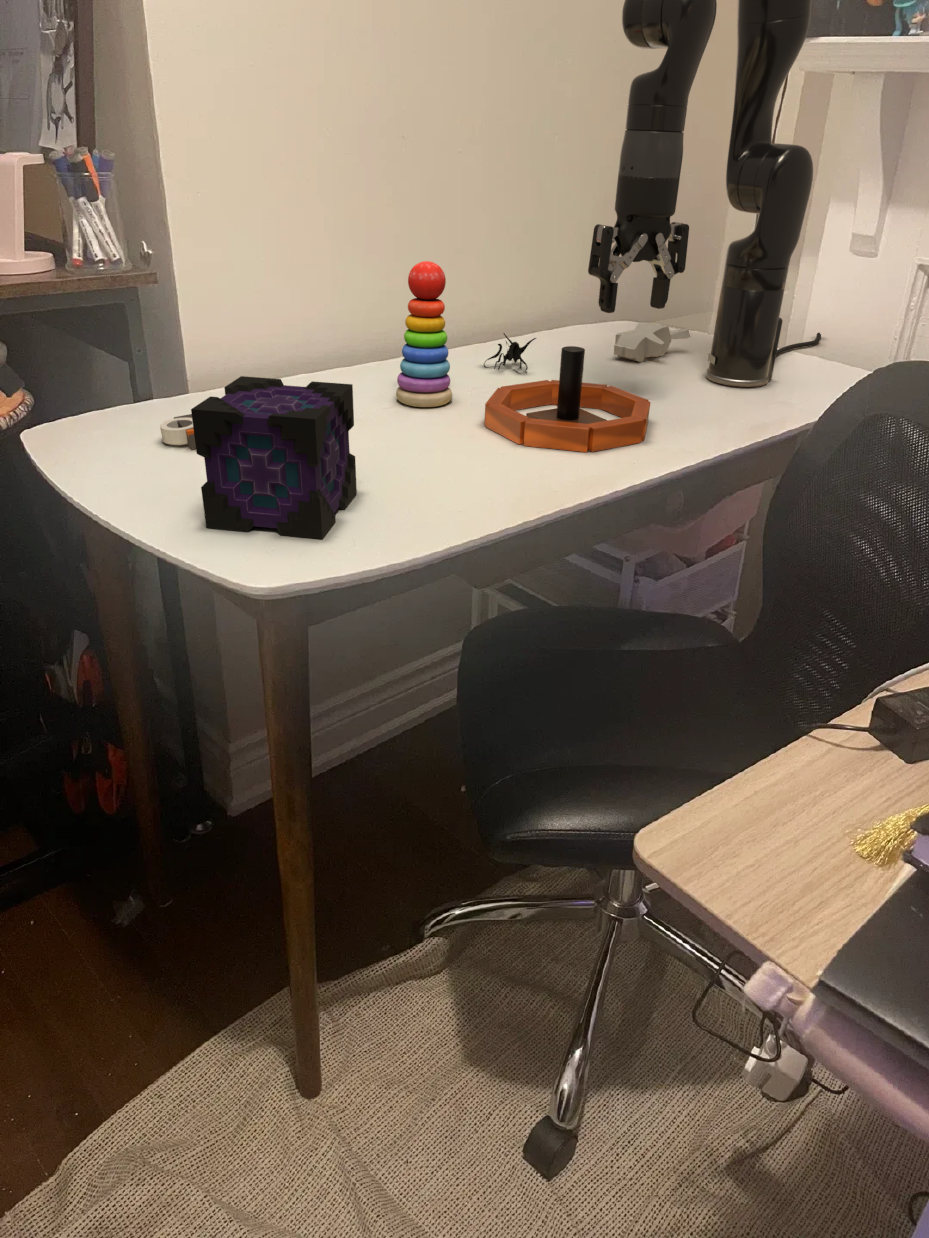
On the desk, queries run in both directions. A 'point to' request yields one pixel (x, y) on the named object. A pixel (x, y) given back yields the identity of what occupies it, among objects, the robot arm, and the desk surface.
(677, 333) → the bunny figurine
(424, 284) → the stacking toy
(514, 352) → the creature
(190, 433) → the tape dispenser
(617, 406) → the ring
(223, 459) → the energy cube
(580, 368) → the post
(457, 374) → the desk surface
